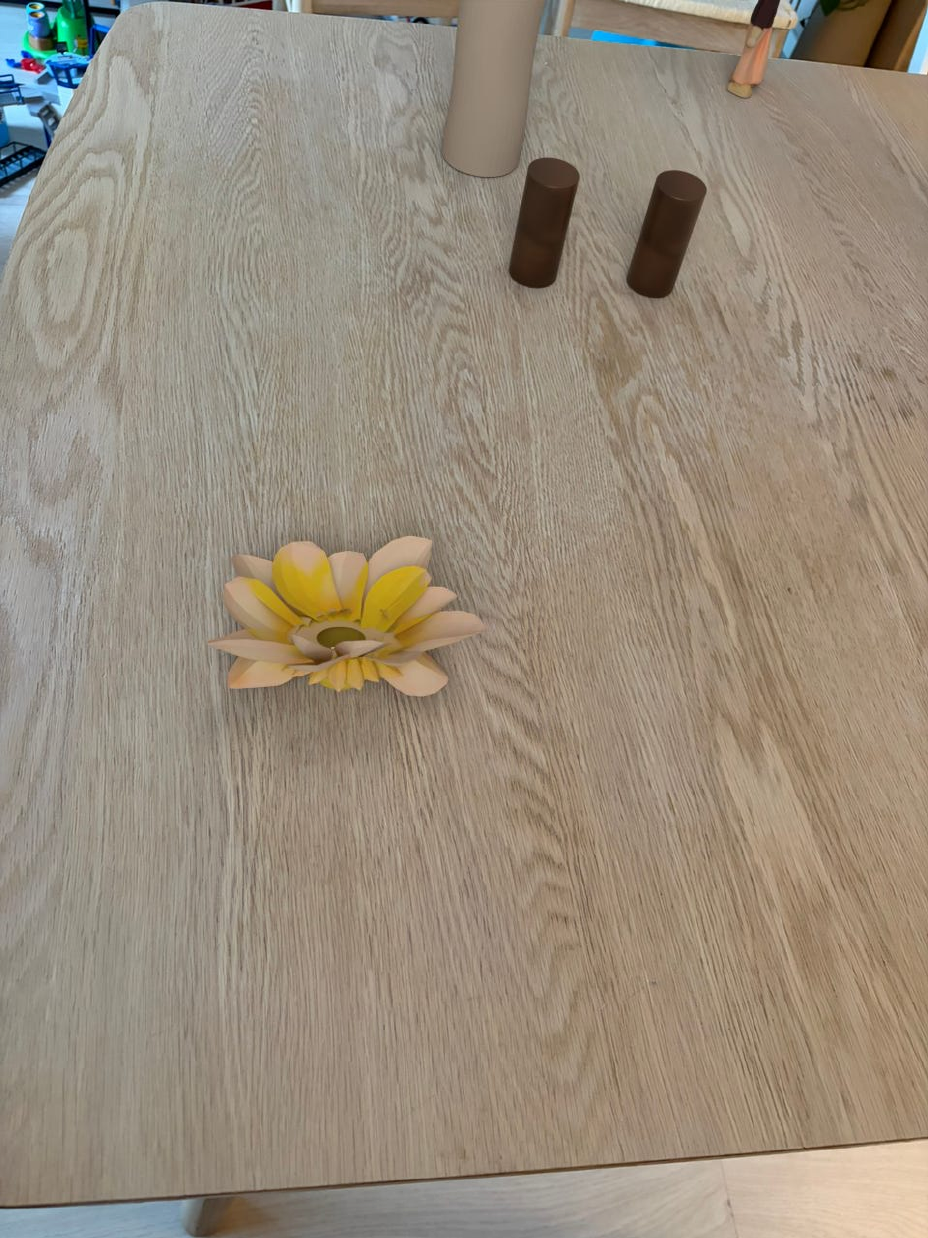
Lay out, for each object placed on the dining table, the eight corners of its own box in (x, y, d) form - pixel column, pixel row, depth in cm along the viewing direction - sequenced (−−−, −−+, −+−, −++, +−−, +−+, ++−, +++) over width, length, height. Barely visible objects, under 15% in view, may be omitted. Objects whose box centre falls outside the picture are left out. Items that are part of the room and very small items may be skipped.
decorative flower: (483, 553, 65) (494, 474, 55) (478, 727, 60) (490, 673, 51) (243, 542, 64) (214, 460, 55) (222, 716, 60) (186, 659, 51)
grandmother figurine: (760, 106, 106) (808, -28, 95) (723, 98, 106) (768, -36, 95) (759, 70, 110) (805, -61, 100) (724, 62, 110) (767, -69, 100)
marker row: (669, 269, 87) (702, 172, 80) (676, 299, 85) (711, 202, 78) (507, 255, 86) (525, 154, 78) (510, 286, 83) (529, 184, 76)
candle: (531, 105, 100) (574, -134, 84) (514, 184, 92) (558, -64, 76) (458, 91, 100) (487, -152, 84) (435, 168, 92) (462, -84, 76)
